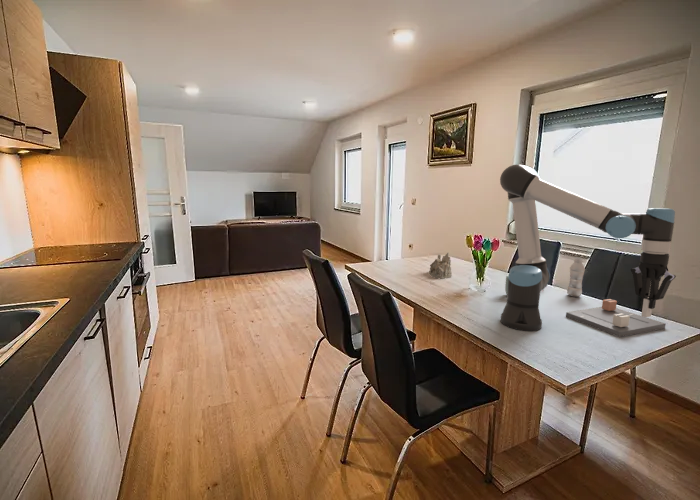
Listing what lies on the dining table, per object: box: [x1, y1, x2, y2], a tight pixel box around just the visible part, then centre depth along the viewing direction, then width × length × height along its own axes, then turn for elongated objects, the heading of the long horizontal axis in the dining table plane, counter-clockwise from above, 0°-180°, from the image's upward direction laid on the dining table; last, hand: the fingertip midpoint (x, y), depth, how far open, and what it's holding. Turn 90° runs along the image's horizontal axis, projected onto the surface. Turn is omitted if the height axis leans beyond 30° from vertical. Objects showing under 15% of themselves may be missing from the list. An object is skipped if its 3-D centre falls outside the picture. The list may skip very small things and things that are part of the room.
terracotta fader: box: [601, 298, 618, 311], centre depth 150 cm, size 4×3×4 cm
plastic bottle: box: [566, 256, 586, 298], centre depth 175 cm, size 6×7×20 cm
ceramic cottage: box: [428, 252, 453, 280], centre depth 217 cm, size 16×16×15 cm
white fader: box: [612, 313, 630, 327], centre depth 133 cm, size 4×3×4 cm
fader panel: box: [565, 306, 666, 338], centre depth 142 cm, size 26×22×2 cm
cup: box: [504, 275, 509, 295], centre depth 175 cm, size 8×8×10 cm
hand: (646, 316), depth 125 cm, fingers closed
